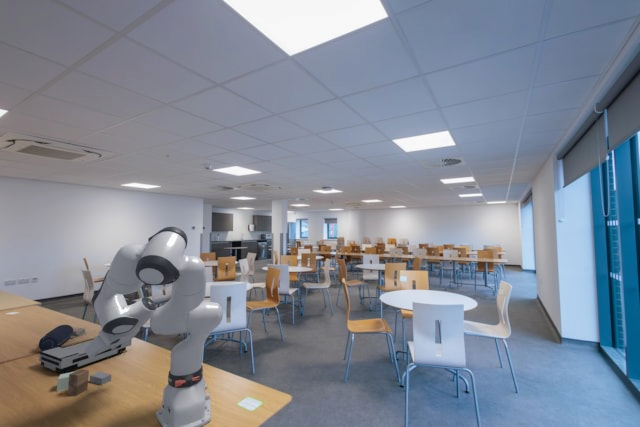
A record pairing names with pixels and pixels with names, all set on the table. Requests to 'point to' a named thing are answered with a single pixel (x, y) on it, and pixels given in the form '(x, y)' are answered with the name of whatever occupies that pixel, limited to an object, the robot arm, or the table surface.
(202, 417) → the robot arm
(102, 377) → the grey flat brick
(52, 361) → the game console
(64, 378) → the sage cube
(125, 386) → the table surface
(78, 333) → the packaged product
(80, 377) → the walnut column
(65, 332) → the portable speaker
